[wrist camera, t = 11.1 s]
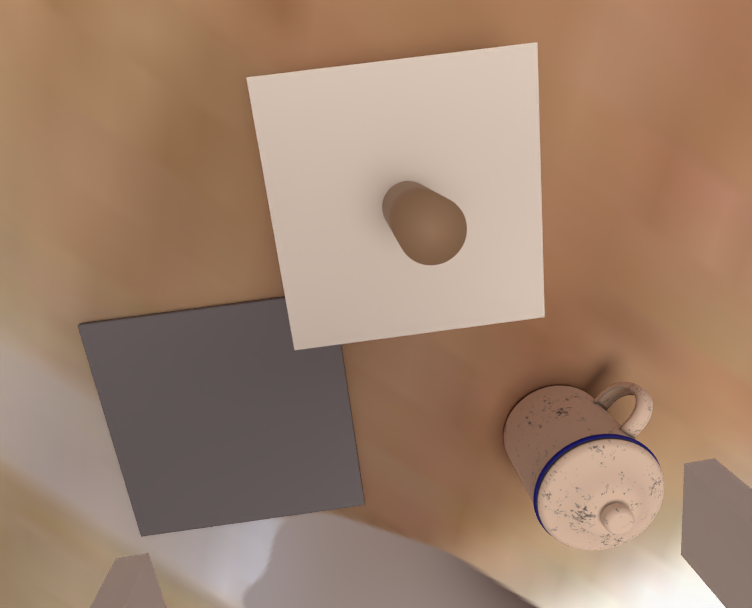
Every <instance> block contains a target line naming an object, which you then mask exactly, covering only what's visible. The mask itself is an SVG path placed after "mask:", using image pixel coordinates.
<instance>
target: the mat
mask: <svg viewBox="0 0 752 608" xmlns="http://www.w3.org/2000/svg"><path fill="white" fill-rule="evenodd" d="M78 328H79V332H80V335H81V338H82V342H83V345H84V348H85V352H86V355H87V358H88V362H89V365H90V368H91V372H92V375H93V378H94V381H95V385H96V388H97V391H98V395H99V398H100V401H101V405H102V408H103V411H104V415H105V418H106V421H107V425H108V428H109V431H110V435H111V438H112V441H113V444H114V448H115V451H116V454H117V458H118V461H119V464H120V468H121V471H122V474H123V478H124V481H125V484H126V488H127V491H128V494H129V498H130V501H131V504H132V507H133V511H134V514H135V517H136V521H137V524H138V527H139V531H140V534H141V536H148V535H155V534H163V533H170V532H177V531H184V530H191V529H198V528H205V527H212V526H219V525H226V524H234V523H241V522H248V521H255V520H262V519H269V518H276V517H283V516H290V515H297V514H305V513H312V512H319V511H326V510H333V509H340V508H347V507H354V506H361V505H365V503H364V495H363V489H362V482H361V475H360V468H359V462H358V455H357V448H356V441H355V435H354V428H353V421H352V414H351V408H350V401H349V394H348V387H347V381H346V374H345V367H344V360H343V354H342V347H341V344H338V345H331V346H323V347H316V348H308V349H301V350H294V345H293V339H292V333H291V328H290V322H289V316H288V311H287V305H286V299H285V297H278V298H270V299H263V300H255V301H247V302H240V303H232V304H225V305H217V306H209V307H202V308H194V309H186V310H179V311H171V312H164V313H156V314H148V315H141V316H133V317H125V318H118V319H110V320H102V321H95V322H87V323H81V324H79V325H78Z"/></svg>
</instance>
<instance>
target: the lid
mask: <svg viewBox="0 0 752 608" xmlns="http://www.w3.org/2000/svg"><path fill="white" fill-rule="evenodd" d="M246 78H247V84H248V89H249V95H250V101H251V106H252V112H253V118H254V123H255V129H256V135H257V140H258V146H259V152H260V157H261V163H262V169H263V174H264V180H265V186H266V192H267V197H268V203H269V209H270V214H271V220H272V226H273V231H274V237H275V243H276V248H277V254H278V260H279V265H280V271H281V277H282V282H283V288H284V294H285V299H286V305H287V311H288V316H289V322H290V328H291V333H292V339H293V345H294V350H301V349H308V348H316V347H323V346H331V345H338V344H346V343H353V342H361V341H368V340H376V339H383V338H391V337H398V336H406V335H413V334H421V333H428V332H436V331H443V330H451V329H458V328H466V327H473V326H481V325H488V324H496V323H503V322H511V321H518V320H526V319H533V318H541V317H545V313H544V276H543V238H542V200H541V162H540V125H539V87H538V49H537V42H536V43H527V44H519V45H511V46H503V47H494V48H486V49H478V50H470V51H461V52H453V53H445V54H436V55H428V56H420V57H412V58H403V59H395V60H387V61H378V62H370V63H362V64H354V65H345V66H337V67H329V68H321V69H312V70H304V71H296V72H287V73H279V74H271V75H263V76H254V77H246Z"/></svg>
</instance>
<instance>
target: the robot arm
mask: <svg viewBox="0 0 752 608" xmlns="http://www.w3.org/2000/svg"><path fill="white" fill-rule="evenodd" d="M681 555H682V556H683V558H684V559H685V560H686V561H687V562H688V563H689V565H690V566H691V567H692V568H693V569H694V571H695V572H696V573H697V574H698V575H699V576H700V578H701V579H702V580H703V581H704V582H705V584H706V585H707V586H708V587H709V588H710V589H711V591H712V592H713V593H714V594H715V595H716V597H717V598H718V599H719V600H720V601H721V602H722V604H723V605H724V606H725V607H726V608H752V489H751V488H750V487H749V486H747V485H746V484H745V483H744V482H742V481H741V480H740V479H739V478H738V477H736V476H735V475H734V474H733V473H732V472H730V471H729V470H728V469H727V468H726V467H724V466H723V465H722V464H721V463H719V462H718V461H717V460H716V459H709V460H703V461H697V462H691V463H685V464H684V487H683V515H682V543H681ZM90 608H166V606H165V603H164V600H163V597H162V593H161V590H160V587H159V584H158V581H157V578H156V575H155V572H154V569H153V566H152V563H151V559H150V556H149V553H146V554H140V555H134V556H128V557H122V558H116V560H115V562H114V564H113V565H112V567H111V569H110V571H109V573H108V575H107V577H106V579H105V581H104V582H103V584H102V586H101V588H100V590H99V592H98V594H97V596H96V598H95V599H94V601H93V603H92V605H91V607H90Z"/></svg>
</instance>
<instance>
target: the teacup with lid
mask: <svg viewBox="0 0 752 608" xmlns="http://www.w3.org/2000/svg"><path fill="white" fill-rule="evenodd" d="M626 395H635V397H636V404H635V408H634V410H633V412H632V414H631V415H630V417H629V418H628V419H627V420H626V422H625V423H624V424H623V425H622V426H621V425H620V424H619V423H618V422H617V421H616V420H615V419H614V418H613V417H612V416H611V415H610V414H609V413H608V412H607V409H608V408H609V407H610V406H611V405H612V404H613V403H614V402H615V401H616V400H617V399H619V398H621V397H623V396H626ZM652 410H653V401H652V398H651V396H650V395H649V393H648V392H647V391H646V390H645V389H643V388H642V387H640V386H638V385H636V384H634V383H630V382H619V383H615V384H613V385H610V386H609V387H607V388H606V389H604V390H603V391H602V392H601V393H600V394H599V395H598V396H597V397H596V398H595V399H594V398H593V397H592V396H590V395H589V394H588V393H586V392H584V391H582V390H580V389H578V388H574V387H570V386H550V387H545V388H542V389H539V390H537V391H535V392H533V393H531V394H529V395H528V396H526V397H525V398H524V399H522V400H521V401H520V402H519V403H518V404H517V405H516V406H515V408H514V409H513V410H512V412H511V413H510V415H509V417H508V419H507V422H506V425H505V429H504V445H505V449H506V452H507V454H508V456H509V458H510V460H511V462H512V464H513V466H514V468H515V470H516V471H517V473H518V475H519V477H520V479H521V481H522V483H523V485H524V487H525V488H526V490H527V492H528V494H529V496H530V498H531V500H532V502H533V503H534V509H535V513H536V516H537V518H538V520H539V522H540V524H541V525H542V527H543V528H544V529H545V530H546V531H547V532H548V533H549V534H550V535H551V536H553V537H554V538H555V539H556V540H558V541H559V542H561V543H563V544H565V545H567V546H570V547H573V548H576V549H581V550H590V551H591V550H604V549H609V548H613V547H616V546H619V545H622V544H624V543H626V542H628V541H630V540H631V539H633V538H635V537H636V536H637V535H639V534H640V533H641V532H642V531H644V530H645V529H646V528H647V527H648V526H649V524H650V523H651V522H652V521H653V519H654V518H655V516H656V515H657V513H658V511H659V509H660V506H661V504H662V500H663V496H664V478H663V473H662V470H661V468H660V465H659V463H658V461H657V459H656V457H655V456H654V454H653V453H652V452H651V451H650V450H649V449H648V448H647V447H646V446H645V445H643V444H642V443H640V442H639V441H637V440H635V438H636V436H637V435H638V434H639V433H640V432H641V431H642V430H643V428H644V427H645V426H646V424H647V423H648V421H649V419H650V417H651V414H652Z"/></svg>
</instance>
